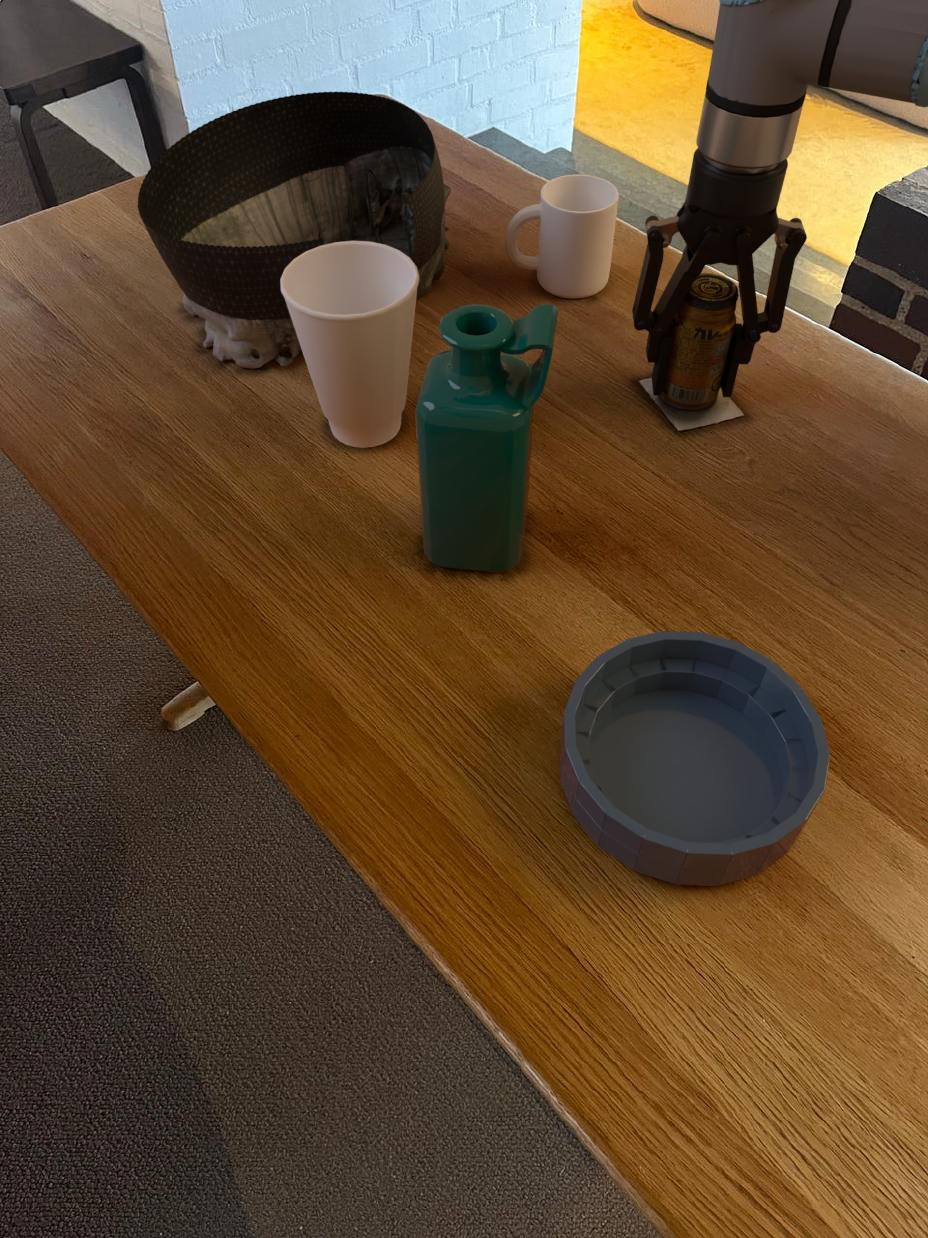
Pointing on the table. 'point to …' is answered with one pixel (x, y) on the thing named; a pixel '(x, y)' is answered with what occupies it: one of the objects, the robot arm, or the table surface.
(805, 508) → the table surface
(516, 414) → the pitcher
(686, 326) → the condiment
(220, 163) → the basket
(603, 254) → the mug
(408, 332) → the cup
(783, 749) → the bowl
